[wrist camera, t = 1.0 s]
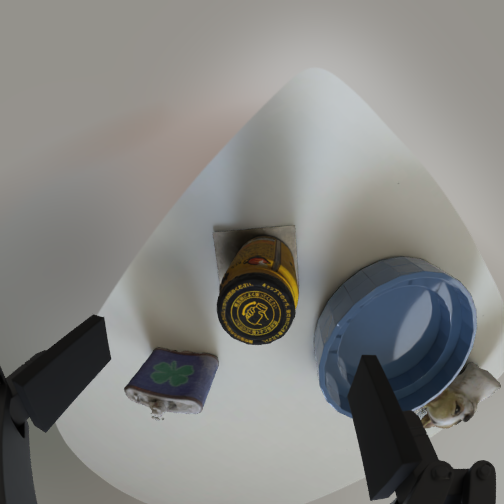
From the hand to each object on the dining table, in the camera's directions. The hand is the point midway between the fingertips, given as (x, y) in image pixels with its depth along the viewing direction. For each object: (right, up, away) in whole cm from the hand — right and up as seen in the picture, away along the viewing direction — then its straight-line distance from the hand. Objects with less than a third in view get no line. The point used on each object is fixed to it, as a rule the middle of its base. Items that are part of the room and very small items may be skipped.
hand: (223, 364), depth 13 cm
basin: (+18, -4, +17) cm, 25 cm away
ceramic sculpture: (+31, -16, +19) cm, 40 cm away
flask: (-7, -8, +21) cm, 24 cm away
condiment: (+2, +4, +17) cm, 18 cm away
